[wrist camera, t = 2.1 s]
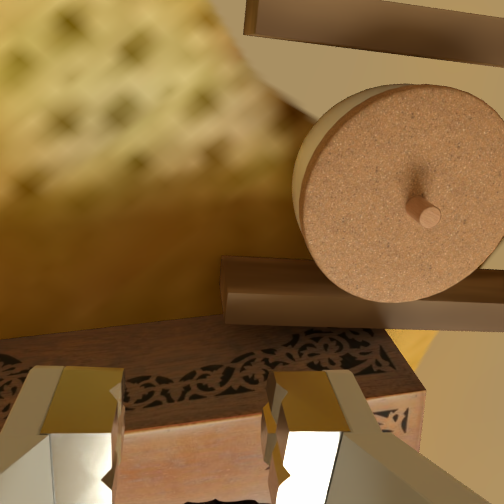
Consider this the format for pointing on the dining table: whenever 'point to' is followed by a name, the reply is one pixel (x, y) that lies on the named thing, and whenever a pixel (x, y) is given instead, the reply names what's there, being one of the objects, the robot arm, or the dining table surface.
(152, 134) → the dining table surface
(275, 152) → the dining table surface
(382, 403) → the tissue box cover
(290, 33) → the u-shaped frame
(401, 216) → the lidded jar
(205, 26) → the dining table surface
